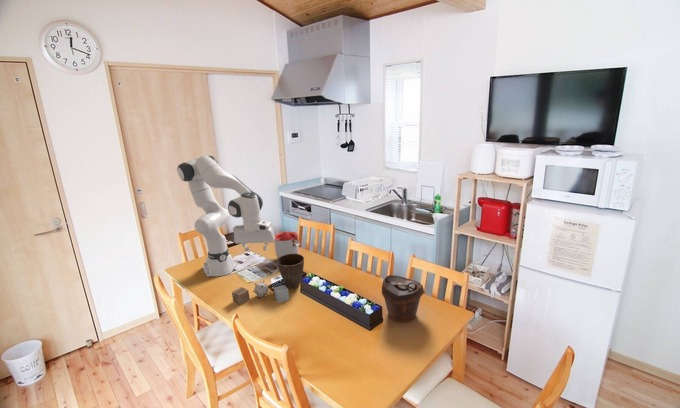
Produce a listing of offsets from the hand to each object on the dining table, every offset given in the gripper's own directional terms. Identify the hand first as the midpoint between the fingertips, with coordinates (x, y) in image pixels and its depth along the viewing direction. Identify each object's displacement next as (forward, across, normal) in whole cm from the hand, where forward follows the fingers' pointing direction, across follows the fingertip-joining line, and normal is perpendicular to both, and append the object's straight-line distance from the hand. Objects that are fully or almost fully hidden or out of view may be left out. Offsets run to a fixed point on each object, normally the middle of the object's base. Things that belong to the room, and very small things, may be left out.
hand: (256, 250), depth 171 cm
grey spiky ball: (+27, 0, 0) cm, 27 cm away
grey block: (+27, +11, -3) cm, 29 cm away
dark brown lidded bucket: (+27, +72, -18) cm, 79 cm away
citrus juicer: (+27, +6, +43) cm, 51 cm away
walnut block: (+27, -10, -4) cm, 29 cm away
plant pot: (+27, +15, +11) cm, 33 cm away
